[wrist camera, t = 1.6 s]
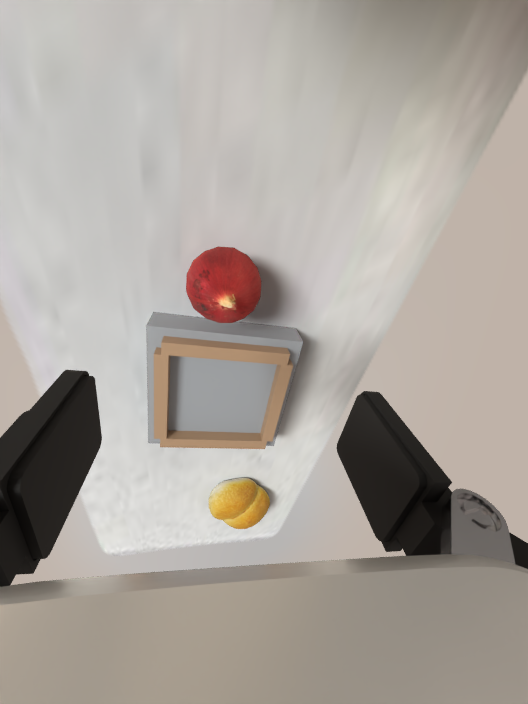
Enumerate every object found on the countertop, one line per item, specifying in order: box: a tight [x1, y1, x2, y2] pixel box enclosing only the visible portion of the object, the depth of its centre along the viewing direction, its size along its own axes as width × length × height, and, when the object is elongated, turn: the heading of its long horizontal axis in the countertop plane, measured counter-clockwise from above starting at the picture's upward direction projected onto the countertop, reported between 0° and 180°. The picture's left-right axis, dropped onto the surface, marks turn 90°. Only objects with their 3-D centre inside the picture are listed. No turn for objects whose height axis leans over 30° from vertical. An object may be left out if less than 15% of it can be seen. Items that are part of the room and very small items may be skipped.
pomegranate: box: [186, 247, 261, 323], centre depth 22 cm, size 6×6×8 cm
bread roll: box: [209, 478, 270, 529], centre depth 40 cm, size 8×9×4 cm
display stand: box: [146, 312, 303, 449], centre depth 29 cm, size 14×14×4 cm
